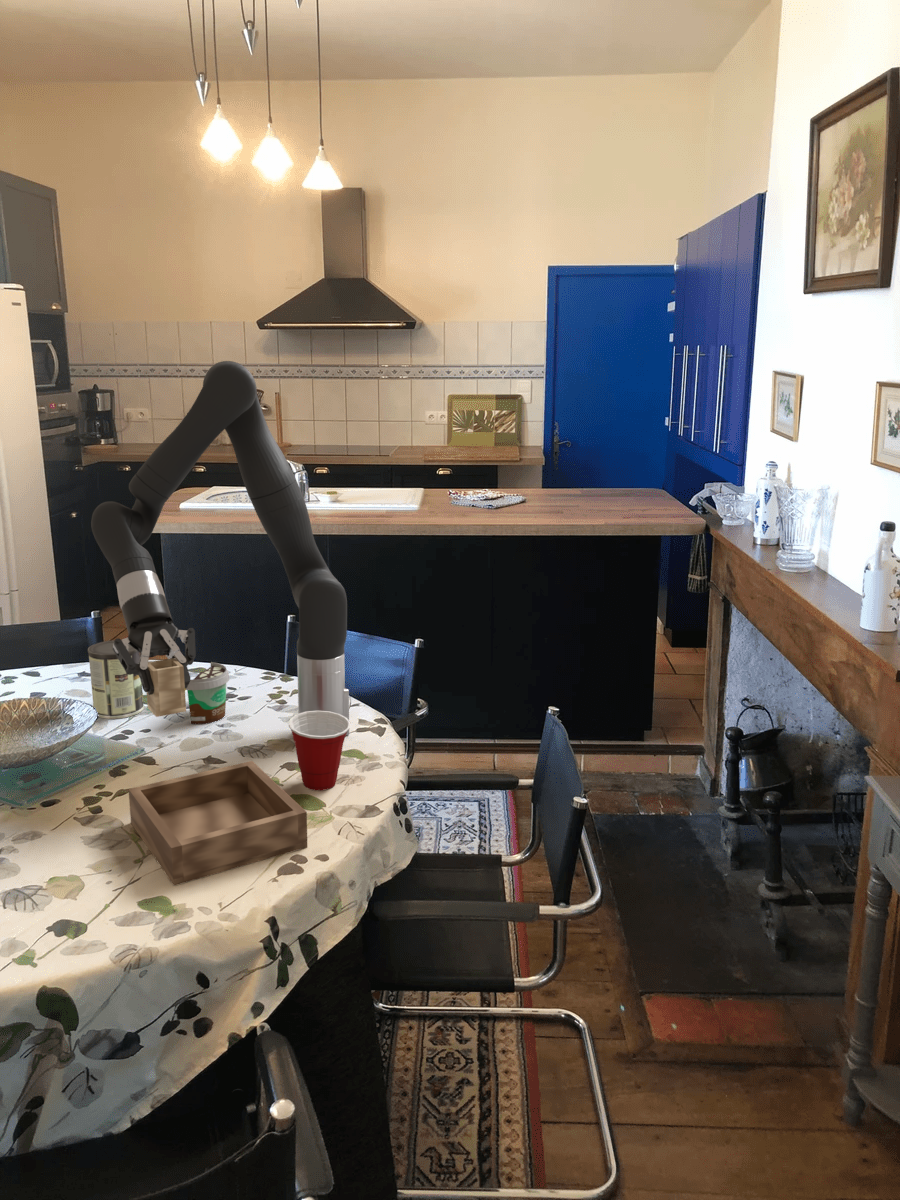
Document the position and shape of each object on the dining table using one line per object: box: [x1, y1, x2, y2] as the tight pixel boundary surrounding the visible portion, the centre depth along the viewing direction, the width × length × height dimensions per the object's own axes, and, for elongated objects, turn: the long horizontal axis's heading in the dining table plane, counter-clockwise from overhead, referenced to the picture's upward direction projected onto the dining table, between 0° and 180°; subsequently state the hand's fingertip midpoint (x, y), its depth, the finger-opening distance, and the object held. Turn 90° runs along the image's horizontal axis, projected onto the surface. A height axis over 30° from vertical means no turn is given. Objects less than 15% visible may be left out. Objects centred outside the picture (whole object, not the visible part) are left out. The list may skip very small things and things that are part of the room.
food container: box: [185, 661, 231, 725], centre depth 198 cm, size 12×6×10 cm, turn 168°
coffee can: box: [87, 639, 145, 720], centre depth 200 cm, size 10×10×14 cm
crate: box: [127, 760, 308, 886], centre depth 151 cm, size 21×22×6 cm
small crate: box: [146, 658, 187, 718], centre depth 160 cm, size 5×5×8 cm
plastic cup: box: [288, 711, 352, 791], centre depth 168 cm, size 11×11×12 cm
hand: (168, 689), depth 158 cm, fingers closed on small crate, 5 cm apart
